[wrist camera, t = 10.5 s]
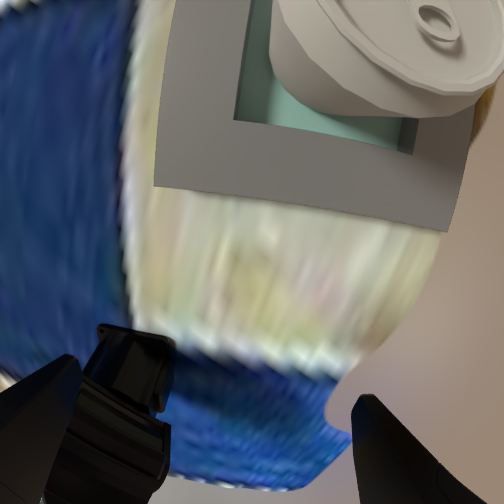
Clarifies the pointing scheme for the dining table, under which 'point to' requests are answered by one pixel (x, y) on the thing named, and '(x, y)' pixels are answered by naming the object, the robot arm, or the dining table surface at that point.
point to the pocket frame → (291, 130)
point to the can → (387, 54)
